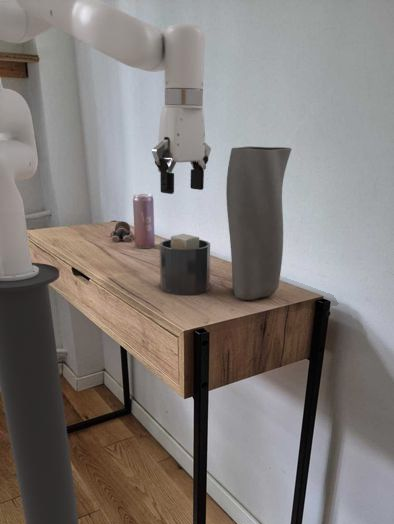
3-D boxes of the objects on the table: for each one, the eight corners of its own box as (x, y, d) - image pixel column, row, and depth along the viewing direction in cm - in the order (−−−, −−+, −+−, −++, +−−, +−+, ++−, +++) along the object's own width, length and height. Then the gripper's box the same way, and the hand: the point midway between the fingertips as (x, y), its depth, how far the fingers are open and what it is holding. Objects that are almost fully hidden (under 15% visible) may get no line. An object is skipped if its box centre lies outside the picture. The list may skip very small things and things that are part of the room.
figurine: (134, 246, 153) (136, 233, 161) (134, 231, 150) (135, 219, 158) (108, 246, 153) (110, 233, 161) (106, 231, 150) (109, 219, 158)
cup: (188, 298, 104) (188, 252, 100) (150, 288, 110) (149, 244, 106) (219, 286, 112) (220, 243, 108) (182, 277, 118) (181, 236, 114)
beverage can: (151, 243, 151) (149, 193, 144) (157, 247, 146) (155, 196, 139) (132, 245, 149) (130, 194, 142) (138, 249, 144) (135, 197, 137)
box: (170, 284, 111) (169, 235, 106) (183, 280, 114) (182, 232, 109) (186, 289, 108) (186, 239, 103) (199, 284, 111) (200, 236, 106)
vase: (249, 308, 99) (258, 149, 86) (212, 293, 108) (216, 147, 95) (291, 297, 105) (306, 148, 92) (253, 283, 114) (262, 145, 101)
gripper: (196, 102, 103) (194, 186, 111) (139, 98, 91) (141, 192, 98) (224, 102, 99) (220, 189, 106) (168, 98, 87) (168, 197, 94)
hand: (182, 191), depth 102 cm, fingers open, 9 cm apart
